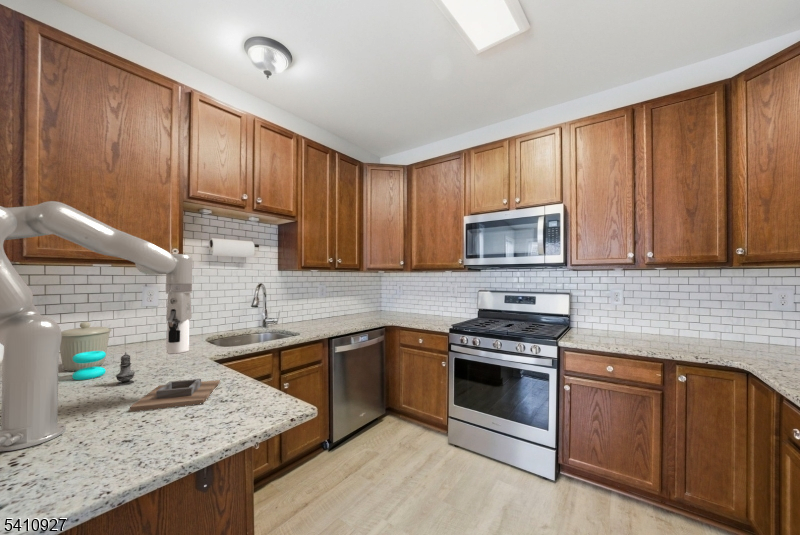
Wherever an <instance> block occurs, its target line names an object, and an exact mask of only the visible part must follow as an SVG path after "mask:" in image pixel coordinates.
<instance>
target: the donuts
mask: <svg viewBox="0 0 800 535" xmlns="http://www.w3.org/2000/svg"><path fill="white" fill-rule="evenodd" d="M105 356H106V357H107V353H105V352H104V351H90V352H84V353H79V354H76V355H75V356H73V358H72V359H73V361H74V362H76V363H92V362H96V361H99V360H102V359H103V358H104V357H105ZM106 373H107V372H106V368H104V367H102V366H98V367H88V368H83V369H80V370H78V371H73V373H72V376H71V378H72V379H74V380H76V381H87V380H91V379H92V378H93V379H95V378H96V377H97V378H100V377H102V376H104V375H105V374H106ZM86 379H87V380H86Z"/></svg>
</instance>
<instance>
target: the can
mask: <svg viewBox="0 0 800 535" xmlns="http://www.w3.org/2000/svg"><path fill="white" fill-rule="evenodd" d="M174 321H178V320H174ZM176 326H177V323H176ZM190 328H191V327H190V320H188V319H187V320H186V321H184V322H181V321H180V326H179V330H180V342H174V343H169V342H168V338H169V331H168V329H169V324H168V322H167V326H166V353H167V354H168V355H178V354H184V353H187V352H189V350H190Z"/></svg>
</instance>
